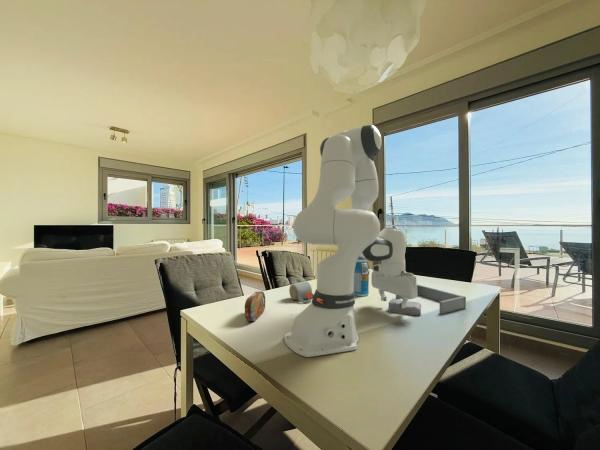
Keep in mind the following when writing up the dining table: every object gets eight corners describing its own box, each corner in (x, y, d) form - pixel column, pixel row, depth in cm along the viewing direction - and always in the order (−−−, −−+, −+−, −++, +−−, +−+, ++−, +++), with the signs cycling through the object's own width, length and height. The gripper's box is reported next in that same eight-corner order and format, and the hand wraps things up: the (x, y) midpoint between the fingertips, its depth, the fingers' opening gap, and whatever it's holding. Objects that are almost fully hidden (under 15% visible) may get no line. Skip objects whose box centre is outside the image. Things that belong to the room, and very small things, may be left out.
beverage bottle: (349, 295, 124) (350, 253, 124) (352, 290, 132) (352, 251, 132) (368, 297, 121) (368, 254, 121) (369, 292, 129) (370, 251, 129)
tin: (251, 325, 89) (251, 300, 89) (242, 324, 90) (242, 299, 89) (266, 310, 104) (266, 288, 104) (258, 309, 104) (258, 288, 104)
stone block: (390, 309, 112) (387, 311, 103) (391, 297, 112) (388, 298, 104) (421, 314, 106) (420, 317, 98) (422, 302, 107) (421, 304, 98)
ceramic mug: (288, 298, 119) (288, 281, 119) (303, 295, 124) (303, 279, 123) (300, 305, 110) (300, 287, 110) (316, 302, 115) (316, 284, 114)
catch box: (442, 314, 101) (442, 302, 100) (395, 298, 120) (395, 288, 120) (465, 307, 108) (465, 296, 108) (418, 293, 127) (418, 284, 127)
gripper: (421, 273, 96) (421, 311, 96) (380, 264, 114) (379, 296, 114) (410, 275, 93) (409, 314, 93) (369, 265, 111) (368, 298, 111)
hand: (392, 304), depth 104 cm, fingers open, 8 cm apart
